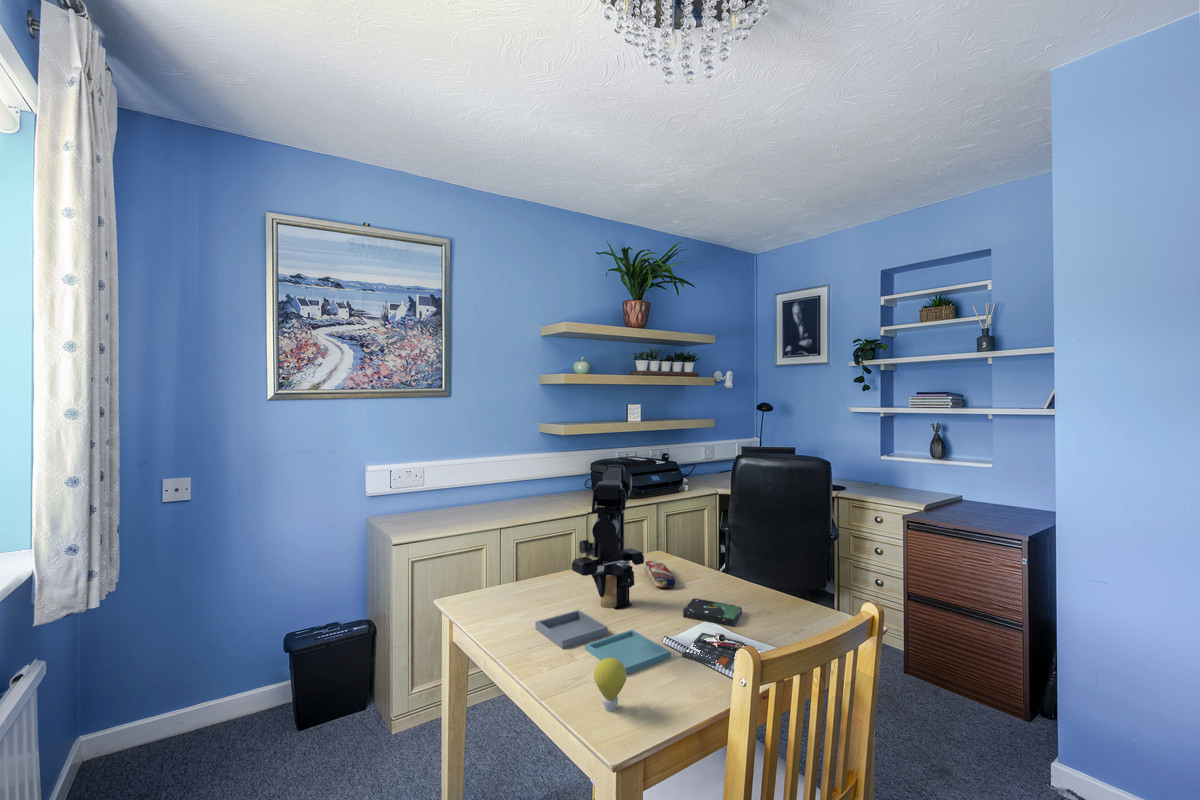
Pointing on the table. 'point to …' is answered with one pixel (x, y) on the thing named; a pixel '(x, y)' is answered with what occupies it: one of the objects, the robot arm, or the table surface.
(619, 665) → the light bulb
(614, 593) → the wooden peg
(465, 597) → the table surface
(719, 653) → the calculator
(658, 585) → the pencil case
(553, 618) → the shallow gray bin
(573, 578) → the table surface
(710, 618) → the disk drive
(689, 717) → the table surface
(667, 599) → the table surface
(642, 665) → the tray
